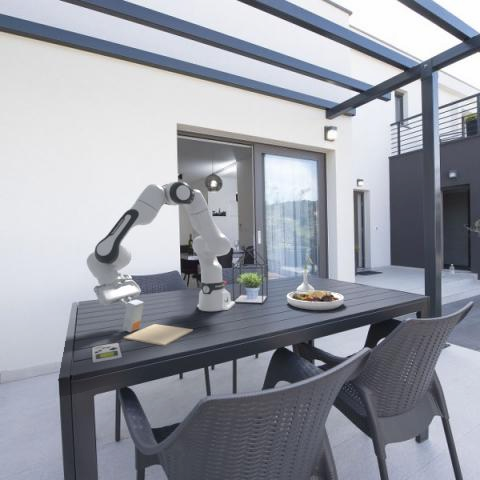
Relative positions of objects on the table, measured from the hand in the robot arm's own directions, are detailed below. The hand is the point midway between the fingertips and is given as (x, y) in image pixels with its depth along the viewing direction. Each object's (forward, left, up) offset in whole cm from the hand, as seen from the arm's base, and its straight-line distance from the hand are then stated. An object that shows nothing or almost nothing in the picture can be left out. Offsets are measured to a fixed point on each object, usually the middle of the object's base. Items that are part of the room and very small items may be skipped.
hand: (129, 307), depth 133 cm
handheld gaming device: (+22, +10, -10) cm, 26 cm away
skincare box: (0, 0, -9) cm, 9 cm away
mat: (0, +15, -10) cm, 18 cm away
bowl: (-72, +62, -10) cm, 96 cm away
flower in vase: (-102, +50, -10) cm, 114 cm away
